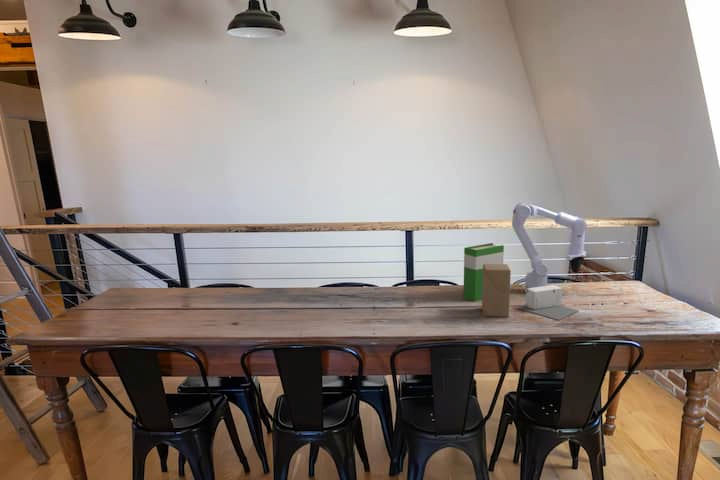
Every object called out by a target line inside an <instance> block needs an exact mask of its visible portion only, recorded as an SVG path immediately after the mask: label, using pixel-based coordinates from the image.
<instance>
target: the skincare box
mask: <svg viewBox="0 0 720 480" xmlns="http://www.w3.org/2000/svg"><path fill="white" fill-rule="evenodd" d="M563 290H564V289H563V287H560V286H557V285H555V284H551V285H549V284H548V285H547V286H542V287H534V288H527V289H526V292H525V293H526V294H525V305H526V306H527V307H529V308H532V309H534V310H535V309H542V308H548V307H555V306H563Z"/></svg>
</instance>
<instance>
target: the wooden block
mask: <svg viewBox="0 0 720 480" xmlns="http://www.w3.org/2000/svg"><path fill="white" fill-rule="evenodd" d="M511 272H512V271H511V269H510V267H509V265H508V264H506V263H503V264H483V287H482V300H481V309H482V313H483V316H484V317H501V318H502V317H504V318H505V317H506V318H508V317H509V316H510V301H511V300H510V299H511V298H510V295H511V276H512V275H511Z"/></svg>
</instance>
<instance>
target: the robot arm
mask: <svg viewBox="0 0 720 480" xmlns="http://www.w3.org/2000/svg"><path fill="white" fill-rule="evenodd" d="M537 215H538V216H540V217H544V218H547V219H550V220H553V222H554V223H555V224H556V225H559V226H562V227H565V228H568V229H571V232H570V233H571V234H570V243H569V253H568V254H567V255H566V256H565V257H566V258H565V260H566V261H568V262H569V264H570V266H571V267H570V268H571V271H572V273H574V274H579V272H580V268H581V265H582V264H583V262H584V261H585V257H586V256H587V251H586V250H584V249H585V238H586V237H585V236H586V235H585V234H586V233H585V232H586V230H587V228H588V225H587V224H588V223H587V222H586V220H584V219H582V218H580V217H578V216H576V215H574V216H573V215H571V214H569V213H567V212H566V211H560V212H554V211H550V210H548V209H545V208H543V207H540V206H539V205H538V206H537V205H534V204H530V203H528V204H527V203H525V202H519V203H517V204H516V205H515V207H514V209H513V211H512V222H511V226H512V228H513V231H514V232H515V234H516V236H517V237H518V238H517V239H518V240H519V241H520V244H521V245H522V247H523V250H524V251H525V252H526V254H527V257H528V258H529V261H530V262H531V263H530V264H531V268H532V269H533V270H532V271H531V272H528V273H526V276H525V280H524V281H525V282H524V289H523V292H525V293H526V289H527V288H534V287H542V286H548V275H549V274H548V273H549V269H550V268H549V266H548V265H547V264H546V261H544V260H543V259H542V258H541V256H540V254H539V252H538V250H537V248H536V247H535V245H534V243H533V241H532V240H531V237H530V235H529V233H528V232H527V231H526V228H525V226H524V225H525V223H526V221H527V220H528V219H529V217H530V216H532V217H534V216H537Z"/></svg>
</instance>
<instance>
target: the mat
mask: <svg viewBox="0 0 720 480" xmlns="http://www.w3.org/2000/svg"><path fill="white" fill-rule="evenodd" d="M518 310H521V311H525V312H527V313H531V314H535V315H538V316H541V317H545V318H548V319H552V320H556V321H558V322H559V321H561V320H563V319H565V318H568V317H570V316H572V315H574V314H577V313H579V311H580V310H578V309H575V308H570V307H567V306H563V305H561V306H555V307H548V308H542V309H535V310H534V309H532V308H529V307H527V306H526V304H525V305H524V306H521V307H518Z"/></svg>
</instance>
